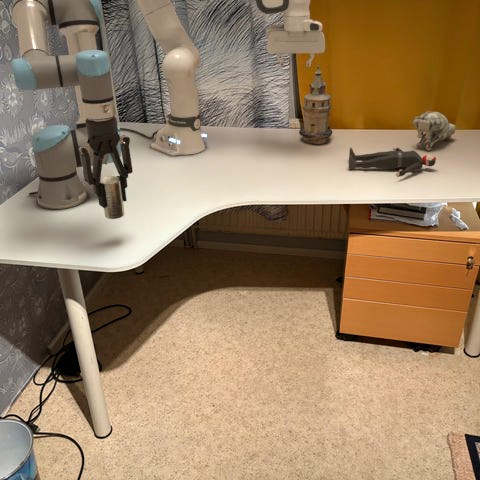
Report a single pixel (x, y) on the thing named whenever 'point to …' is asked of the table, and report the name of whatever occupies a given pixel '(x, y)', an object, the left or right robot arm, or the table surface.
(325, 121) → the miniature building
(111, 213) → the canister
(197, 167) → the table surface
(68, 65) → the left robot arm
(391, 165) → the toy
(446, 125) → the figurine
